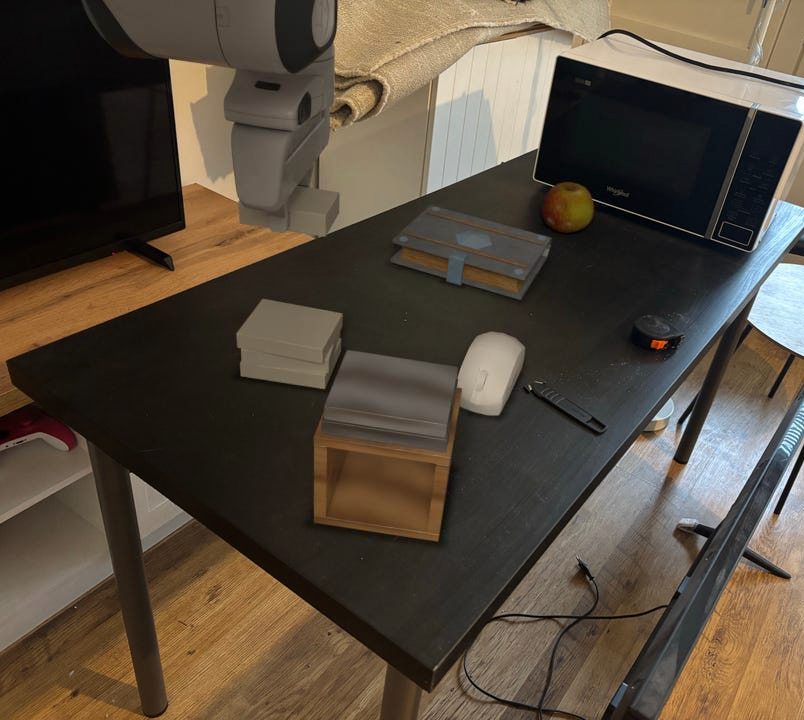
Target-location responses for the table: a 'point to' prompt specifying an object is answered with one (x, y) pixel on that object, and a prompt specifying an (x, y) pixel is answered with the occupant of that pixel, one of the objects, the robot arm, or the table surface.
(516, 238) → the book
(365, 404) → the oak stand
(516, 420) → the table surface
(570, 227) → the fruit
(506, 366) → the computer mouse
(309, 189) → the beige flat block
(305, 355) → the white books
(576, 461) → the table surface
